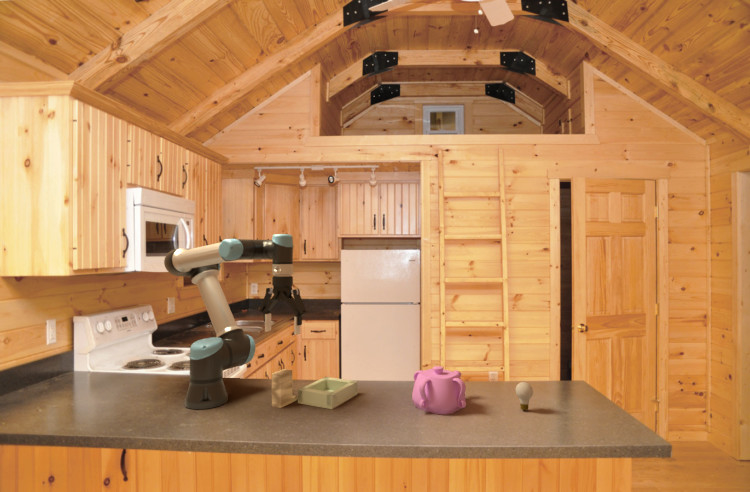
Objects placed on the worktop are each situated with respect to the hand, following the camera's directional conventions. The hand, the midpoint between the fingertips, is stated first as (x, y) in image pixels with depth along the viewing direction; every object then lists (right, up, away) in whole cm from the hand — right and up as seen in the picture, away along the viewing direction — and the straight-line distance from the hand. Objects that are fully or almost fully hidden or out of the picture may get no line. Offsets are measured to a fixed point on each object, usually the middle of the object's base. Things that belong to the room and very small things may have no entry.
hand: (282, 332), depth 165 cm
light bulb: (+87, -26, -9) cm, 91 cm away
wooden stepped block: (+1, -27, +1) cm, 27 cm away
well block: (+17, -26, +6) cm, 32 cm away
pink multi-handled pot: (+59, -26, -2) cm, 65 cm away
